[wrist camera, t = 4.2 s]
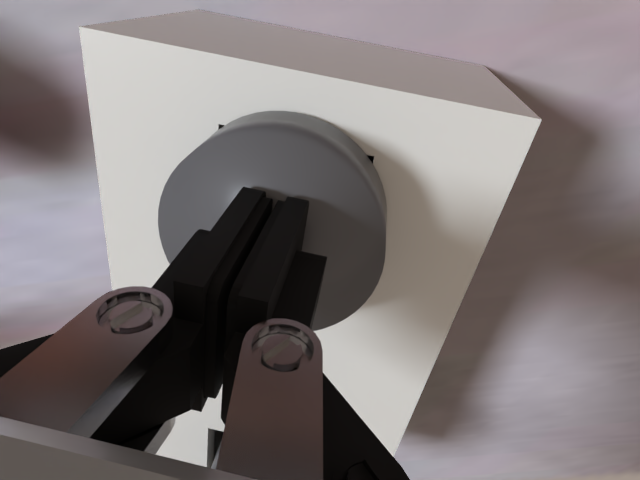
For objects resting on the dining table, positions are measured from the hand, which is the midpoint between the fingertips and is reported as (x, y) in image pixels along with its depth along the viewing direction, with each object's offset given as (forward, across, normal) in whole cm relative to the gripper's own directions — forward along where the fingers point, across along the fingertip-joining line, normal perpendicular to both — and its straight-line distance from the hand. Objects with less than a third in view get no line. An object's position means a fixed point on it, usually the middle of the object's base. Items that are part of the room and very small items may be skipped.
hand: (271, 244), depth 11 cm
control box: (+10, 0, +7) cm, 12 cm away
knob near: (+8, 0, 0) cm, 8 cm away
